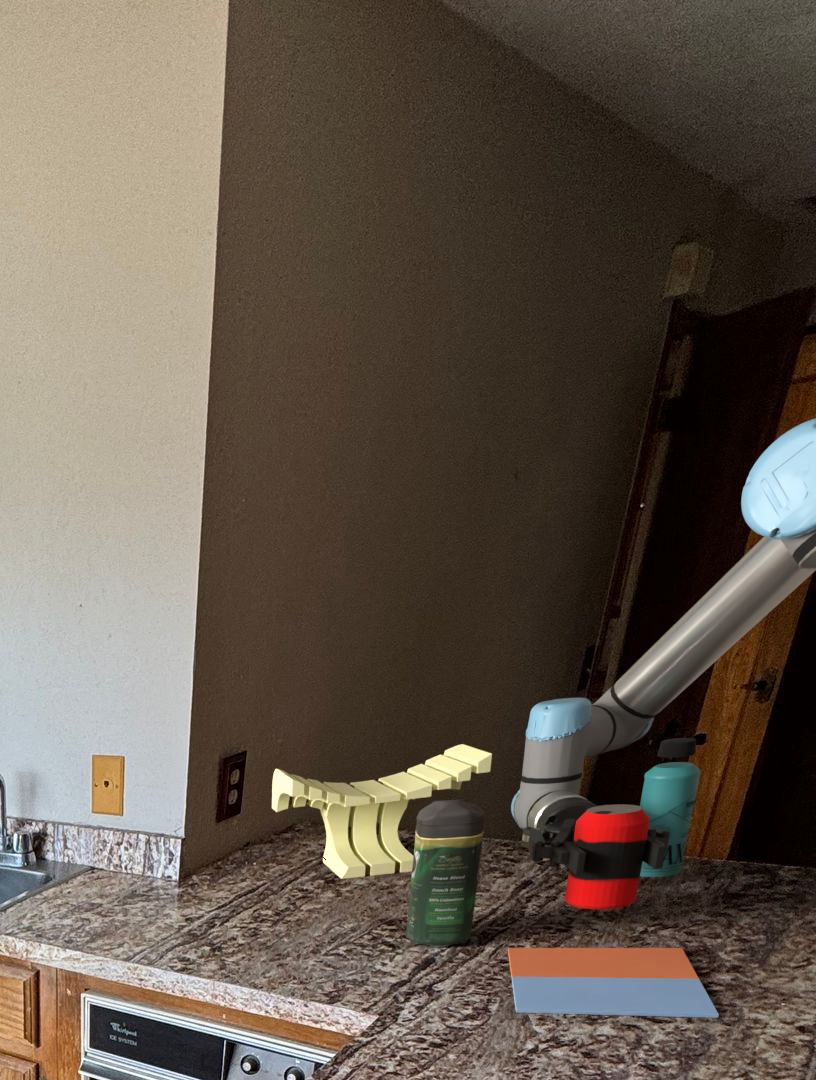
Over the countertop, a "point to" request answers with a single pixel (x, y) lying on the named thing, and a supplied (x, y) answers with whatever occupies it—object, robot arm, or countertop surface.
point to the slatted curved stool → (374, 809)
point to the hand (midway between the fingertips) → (620, 860)
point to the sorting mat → (608, 982)
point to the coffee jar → (445, 873)
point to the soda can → (608, 856)
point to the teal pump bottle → (671, 802)
